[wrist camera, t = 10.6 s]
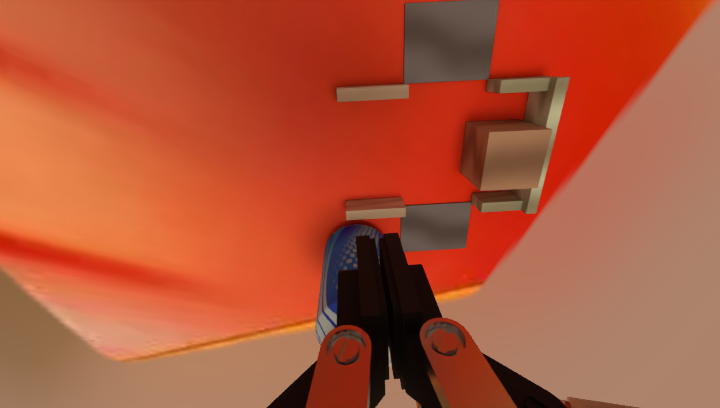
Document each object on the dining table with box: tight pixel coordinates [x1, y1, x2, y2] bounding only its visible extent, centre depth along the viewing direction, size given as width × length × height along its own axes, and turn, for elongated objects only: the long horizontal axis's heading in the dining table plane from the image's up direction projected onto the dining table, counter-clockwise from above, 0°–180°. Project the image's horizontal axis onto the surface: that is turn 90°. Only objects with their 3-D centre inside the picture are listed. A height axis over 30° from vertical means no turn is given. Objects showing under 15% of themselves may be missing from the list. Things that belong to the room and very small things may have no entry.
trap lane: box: [336, 0, 570, 252], centre depth 31 cm, size 28×22×4 cm
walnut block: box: [460, 119, 552, 191], centre depth 31 cm, size 6×6×6 cm
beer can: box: [316, 224, 392, 367], centre depth 31 cm, size 8×8×16 cm
